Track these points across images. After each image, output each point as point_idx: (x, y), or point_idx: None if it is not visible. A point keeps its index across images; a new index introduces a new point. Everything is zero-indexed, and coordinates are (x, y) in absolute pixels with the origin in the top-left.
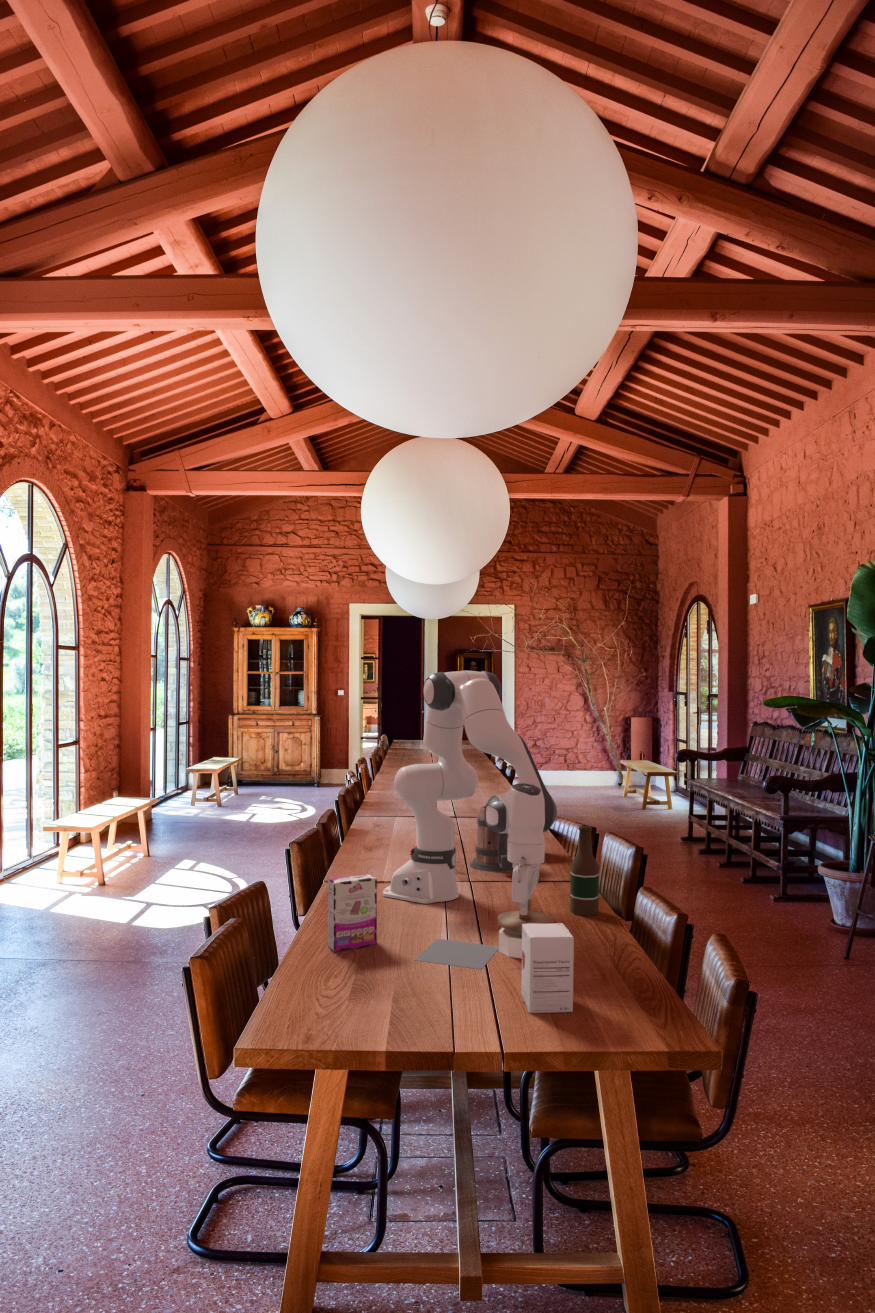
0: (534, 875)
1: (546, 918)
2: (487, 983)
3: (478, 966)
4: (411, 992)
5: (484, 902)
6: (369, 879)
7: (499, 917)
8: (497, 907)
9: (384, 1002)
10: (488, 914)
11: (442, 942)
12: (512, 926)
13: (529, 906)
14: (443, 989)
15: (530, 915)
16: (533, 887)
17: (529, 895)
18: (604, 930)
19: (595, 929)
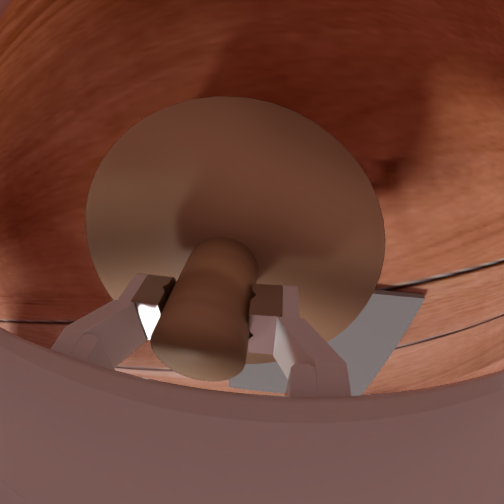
0: (7, 466)
1: (174, 146)
2: (477, 272)
3: (407, 308)
4: (473, 360)
5: (5, 307)
6: None
7: (246, 361)
8: (5, 289)
9: (487, 370)
10: (35, 303)
11: (249, 380)
12: (359, 310)
13: (229, 302)
14: (479, 331)
15: (231, 254)
16: (114, 409)
17: (460, 411)
18: (5, 38)
19: (3, 59)
